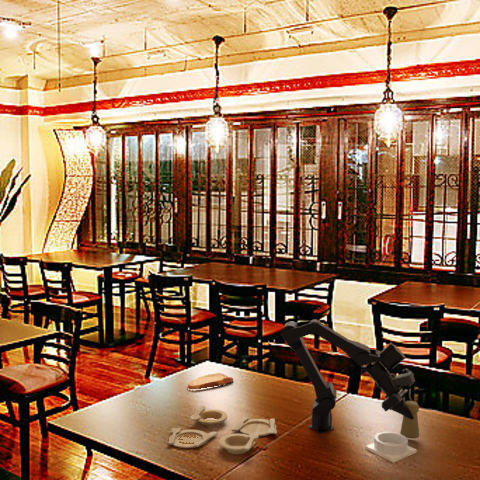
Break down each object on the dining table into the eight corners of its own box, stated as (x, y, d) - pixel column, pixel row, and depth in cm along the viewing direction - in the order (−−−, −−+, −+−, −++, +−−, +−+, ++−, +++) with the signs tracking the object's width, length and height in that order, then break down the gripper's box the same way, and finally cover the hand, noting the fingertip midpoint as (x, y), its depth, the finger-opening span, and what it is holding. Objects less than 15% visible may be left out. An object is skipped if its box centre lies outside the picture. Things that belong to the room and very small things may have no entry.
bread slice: (185, 392, 230) (185, 383, 230) (195, 377, 248) (195, 369, 247) (228, 394, 227) (228, 385, 227) (235, 379, 245) (235, 371, 245)
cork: (420, 439, 180) (421, 406, 179) (401, 437, 182) (402, 404, 181) (418, 431, 186) (419, 399, 185) (399, 429, 187) (400, 398, 186)
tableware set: (285, 425, 197) (285, 414, 197) (260, 463, 170) (260, 450, 169) (193, 412, 208) (193, 402, 208) (157, 446, 181) (157, 434, 181)
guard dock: (393, 462, 169) (393, 449, 169) (365, 448, 178) (365, 436, 178) (416, 452, 176) (416, 440, 175) (388, 439, 184) (388, 428, 184)
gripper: (393, 371, 176) (428, 412, 171) (406, 356, 192) (438, 393, 187) (367, 391, 180) (401, 431, 176) (382, 374, 196) (413, 411, 192)
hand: (414, 415), depth 183 cm, fingers closed on cork, 5 cm apart
